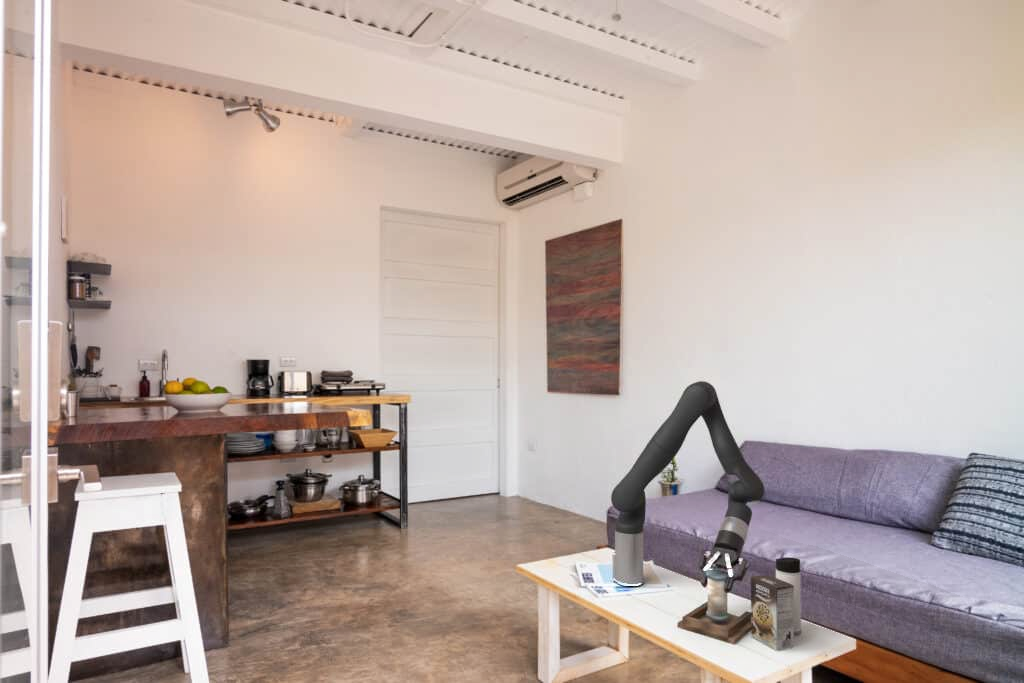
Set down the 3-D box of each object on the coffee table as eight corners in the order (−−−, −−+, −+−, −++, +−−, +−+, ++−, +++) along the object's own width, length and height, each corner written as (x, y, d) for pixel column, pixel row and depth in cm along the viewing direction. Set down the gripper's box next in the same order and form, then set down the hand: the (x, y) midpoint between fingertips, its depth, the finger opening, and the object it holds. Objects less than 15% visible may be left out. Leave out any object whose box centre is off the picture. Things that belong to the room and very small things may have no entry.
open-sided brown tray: (677, 627, 177) (677, 615, 177) (703, 610, 189) (703, 599, 189) (733, 644, 166) (733, 631, 166) (757, 625, 178) (757, 614, 178)
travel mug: (791, 638, 170) (790, 562, 170) (771, 629, 176) (770, 555, 176) (807, 633, 173) (806, 559, 173) (787, 624, 179) (786, 552, 179)
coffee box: (750, 637, 170) (749, 576, 171) (768, 633, 173) (767, 573, 173) (776, 651, 162) (775, 587, 162) (795, 647, 164) (794, 584, 165)
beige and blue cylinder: (702, 617, 177) (702, 573, 178) (711, 611, 182) (711, 568, 182) (723, 622, 173) (723, 578, 174) (732, 616, 178) (732, 572, 178)
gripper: (704, 524, 189) (685, 575, 179) (752, 533, 179) (735, 587, 170) (712, 539, 192) (694, 589, 183) (760, 548, 183) (744, 602, 174)
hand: (714, 588), depth 177 cm, fingers closed on beige and blue cylinder, 6 cm apart
